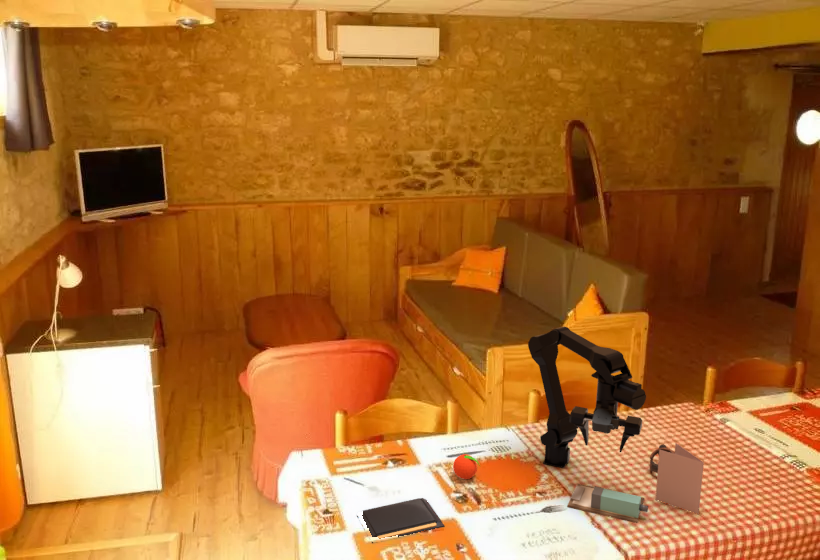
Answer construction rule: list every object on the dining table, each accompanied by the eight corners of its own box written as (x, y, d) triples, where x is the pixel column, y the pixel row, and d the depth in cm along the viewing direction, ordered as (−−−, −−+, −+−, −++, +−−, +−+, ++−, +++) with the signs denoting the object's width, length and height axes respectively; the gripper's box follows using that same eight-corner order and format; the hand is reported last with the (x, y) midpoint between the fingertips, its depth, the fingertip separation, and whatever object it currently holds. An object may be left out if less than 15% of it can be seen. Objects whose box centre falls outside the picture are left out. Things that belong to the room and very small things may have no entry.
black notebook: (425, 493, 196) (445, 523, 182) (425, 499, 196) (445, 529, 182) (354, 507, 190) (370, 539, 176) (354, 513, 190) (370, 546, 176)
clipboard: (567, 506, 191) (567, 502, 190) (577, 485, 201) (577, 481, 201) (637, 522, 183) (637, 518, 183) (644, 499, 194) (644, 495, 193)
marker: (590, 507, 189) (591, 493, 188) (594, 499, 192) (594, 486, 191) (645, 520, 183) (647, 505, 182) (648, 511, 186) (649, 497, 185)
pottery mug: (691, 481, 204) (682, 461, 200) (659, 492, 206) (650, 473, 203) (678, 451, 214) (669, 433, 211) (648, 462, 217) (639, 444, 213)
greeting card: (701, 513, 187) (706, 461, 183) (677, 518, 185) (681, 466, 181) (674, 491, 197) (678, 442, 194) (650, 496, 195) (654, 446, 192)
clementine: (483, 475, 208) (484, 452, 206) (475, 486, 201) (476, 463, 200) (458, 469, 211) (458, 447, 209) (449, 480, 205) (449, 458, 203)
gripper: (566, 401, 190) (563, 454, 194) (639, 414, 183) (634, 469, 187) (575, 386, 200) (572, 436, 204) (644, 398, 193) (639, 450, 197)
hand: (603, 448), depth 198 cm, fingers open, 9 cm apart
